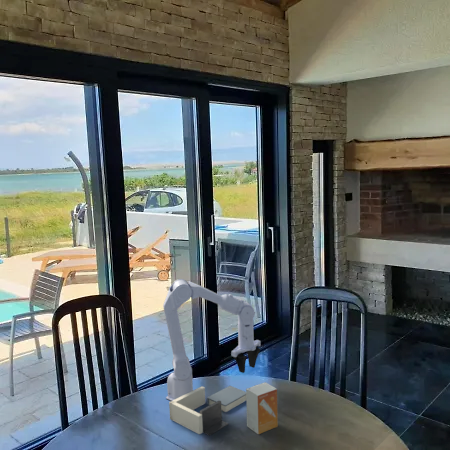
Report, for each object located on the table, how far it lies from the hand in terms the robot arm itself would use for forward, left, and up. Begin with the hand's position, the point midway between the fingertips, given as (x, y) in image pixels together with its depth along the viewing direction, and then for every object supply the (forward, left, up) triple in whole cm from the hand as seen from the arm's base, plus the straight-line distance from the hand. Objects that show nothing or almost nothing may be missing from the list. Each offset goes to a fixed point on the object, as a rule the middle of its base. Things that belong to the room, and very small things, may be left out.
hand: (247, 369), depth 175 cm
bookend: (+8, -26, -8) cm, 29 cm away
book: (0, -11, -9) cm, 14 cm away
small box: (+20, -16, -9) cm, 27 cm away
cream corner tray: (0, -24, -8) cm, 25 cm away
